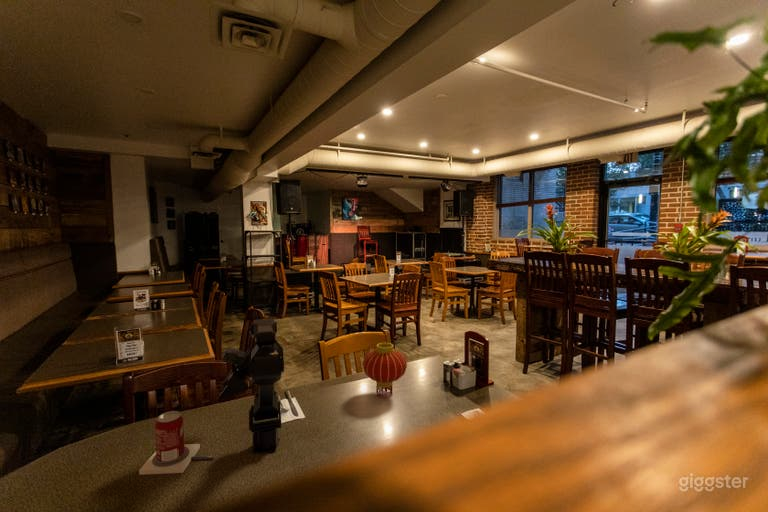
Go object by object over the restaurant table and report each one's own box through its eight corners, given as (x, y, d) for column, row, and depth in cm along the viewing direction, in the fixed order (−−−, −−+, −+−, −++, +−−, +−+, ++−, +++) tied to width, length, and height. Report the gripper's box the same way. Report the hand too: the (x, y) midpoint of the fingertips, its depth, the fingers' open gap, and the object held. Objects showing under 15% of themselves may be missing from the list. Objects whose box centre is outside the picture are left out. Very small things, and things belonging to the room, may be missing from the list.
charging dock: (220, 446, 108) (220, 442, 108) (205, 471, 97) (205, 466, 97) (161, 448, 107) (161, 444, 107) (139, 474, 96) (139, 469, 96)
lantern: (407, 406, 134) (409, 326, 132) (360, 405, 134) (361, 326, 132) (405, 385, 151) (406, 315, 148) (363, 385, 151) (364, 314, 149)
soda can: (179, 463, 98) (178, 421, 97) (152, 466, 97) (150, 423, 96) (188, 448, 105) (186, 408, 104) (162, 451, 104) (160, 410, 103)
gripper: (241, 330, 123) (206, 364, 121) (234, 349, 105) (194, 390, 103) (265, 350, 126) (232, 385, 124) (264, 373, 108) (224, 413, 106)
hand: (221, 392), depth 114 cm, fingers open, 9 cm apart
